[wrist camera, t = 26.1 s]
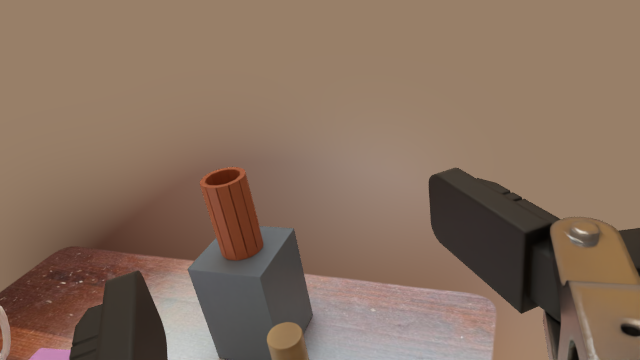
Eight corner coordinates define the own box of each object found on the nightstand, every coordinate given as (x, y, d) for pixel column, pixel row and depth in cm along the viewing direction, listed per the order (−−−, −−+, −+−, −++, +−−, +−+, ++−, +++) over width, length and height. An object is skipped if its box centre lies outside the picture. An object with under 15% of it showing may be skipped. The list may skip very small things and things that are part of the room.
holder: (313, 314, 52) (279, 158, 44) (285, 370, 46) (238, 200, 37) (252, 306, 55) (209, 158, 46) (218, 357, 49) (161, 196, 40)
